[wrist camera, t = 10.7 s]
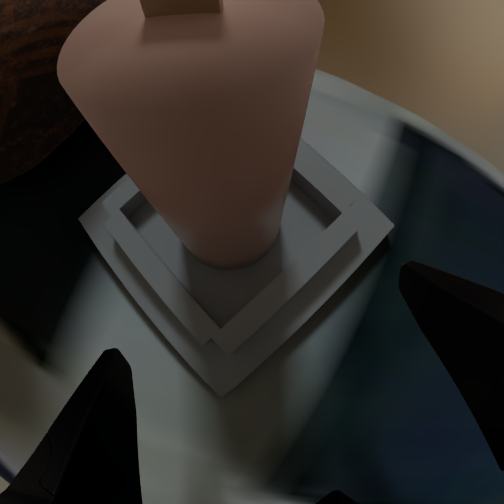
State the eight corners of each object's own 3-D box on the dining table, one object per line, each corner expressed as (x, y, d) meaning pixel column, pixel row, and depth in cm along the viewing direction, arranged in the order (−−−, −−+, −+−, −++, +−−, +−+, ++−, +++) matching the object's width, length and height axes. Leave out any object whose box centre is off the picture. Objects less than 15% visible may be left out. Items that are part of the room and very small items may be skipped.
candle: (284, 182, 18) (325, -62, 4) (273, 276, 16) (346, 55, 3) (191, 172, 18) (111, -51, 4) (172, 262, 17) (-20, 86, 3)
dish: (386, 231, 18) (404, 217, 16) (223, 393, 16) (218, 405, 13) (238, 100, 21) (236, 75, 18) (86, 224, 19) (66, 210, 16)
